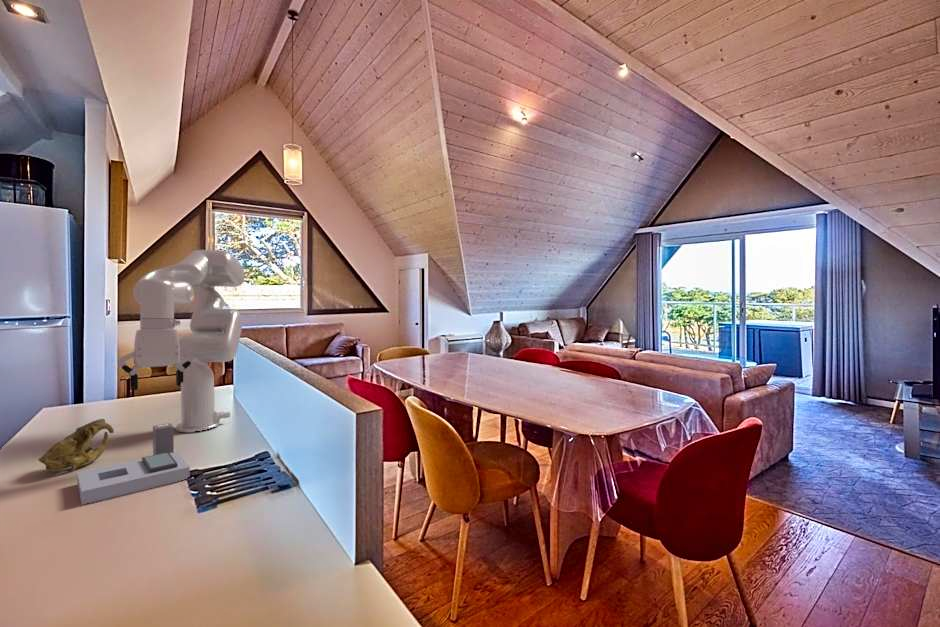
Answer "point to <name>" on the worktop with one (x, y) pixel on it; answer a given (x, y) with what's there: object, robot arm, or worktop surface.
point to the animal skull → (77, 447)
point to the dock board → (131, 476)
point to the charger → (163, 439)
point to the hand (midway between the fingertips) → (157, 387)
